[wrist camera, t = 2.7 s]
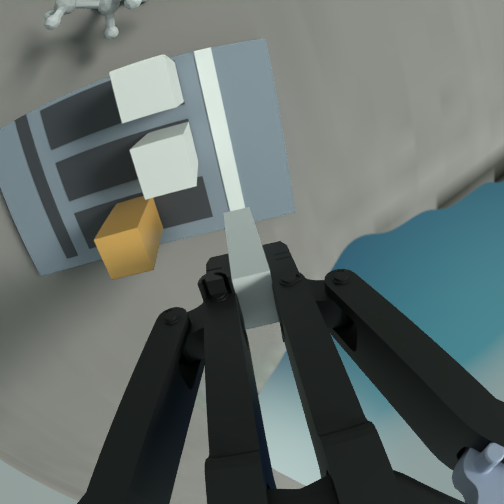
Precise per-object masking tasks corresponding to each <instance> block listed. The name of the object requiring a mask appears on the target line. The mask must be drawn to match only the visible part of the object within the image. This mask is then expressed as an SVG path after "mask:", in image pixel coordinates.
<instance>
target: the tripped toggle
mask: <svg viewBox="0 0 504 504" xmlns="http://www.w3.org/2000/svg"><path fill="white" fill-rule="evenodd" d="M162 231H163V226H162V223H161V220H160V217H159V214H158V211H157V208H156V205H155V202H154V199H153V198H150V199H146V200H145V198H144V196H141V197H137V198H134V199H130V200H127V201H124V202H120V203H117V204H116V205H115V206H114V208H113V209H112V211H111V213H110V214H109V216H108V217H107V219H106V221H105V222H104V224H103V225H102V227H101V229H100V230H99V232H98V234H97V235H96V237H95V239H94V242H95V244H96V246H97V249H98V251H99V253H100V255H101V258H102V260H103V262H104V264H105V266H106V268H107V270H108V273H109V275H110V277H111V279H112V280H113V279H117V278H121V277H126V276H130V275H134V274H138V273H142V272H147V271H151V270H154V266H155V262H156V257H157V253H158V248H159V244H160V240H161V236H162Z"/></svg>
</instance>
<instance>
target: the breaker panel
mask: <svg viewBox="0 0 504 504" xmlns="http://www.w3.org/2000/svg"><path fill="white" fill-rule="evenodd" d="M109 74H110V77H108V78H105V79H102V80H100V81H97V82H95V83H92V84H90V85H87V86H85V87H82V88H80V89H78V90H75V91H73V92H71V93H69V94H66V95H64V96H62V97H60V98H58V99H55V100H53V101H51V102H49V103H47V104H45V105H43V106H41V107H39V108H37V109H35V110H33V111H31V112H29V113H28V114H25V115H24V116H22V117H20V118H18V119H16V120H15V121H13V122H11V123H10V124H8V125H6V126H4V127H3V128H1V129H0V188H1V191H2V193H3V196H4V198H5V201H6V203H7V206H8V208H9V211H10V213H11V215H12V218H13V220H14V222H15V225H16V227H17V229H18V231H19V234H20V236H21V238H22V240H23V242H24V244H25V246H26V248H27V250H28V252H29V254H30V256H31V258H32V260H33V262H34V264H35V266H36V268H37V270H38V272H39V274H40V276H44V275H47V274H51V273H54V272H58V271H61V270H65V269H69V268H72V267H76V266H80V265H83V264H87V263H91V262H95V261H98V260H102V258H101V255H100V253H99V251H98V249H97V246H96V244H95V242H94V239H95V237H96V235H97V234H98V232H99V230H100V229H101V227H102V225H103V224H104V222H105V221H106V219H107V217H108V216H109V214H110V213H111V211H112V209H113V208H114V206H115V205H116V204H117V203H120V202H124V201H127V200H130V199H134V198H137V197H141V196H144V198H145V200H146V199H150V198H153V199H154V202H155V205H156V208H157V211H158V214H159V217H160V220H161V223H162V226H163V231H162V236H161V240H160V244H164V243H168V242H172V241H176V240H180V239H184V238H188V237H192V236H197V235H201V234H205V233H209V232H213V231H217V230H222V229H225V222H224V214H223V213H225V212H229V211H234V210H238V209H243V208H247V207H250V210H251V213H252V216H253V219H254V222H256V221H260V220H265V219H269V218H273V217H278V216H282V215H287V214H291V213H295V207H294V200H293V193H292V186H291V179H290V173H289V166H288V160H287V153H286V147H285V141H284V135H283V129H282V123H281V117H280V111H279V106H278V100H277V94H276V89H275V83H274V78H273V73H272V68H271V63H270V57H269V52H268V47H267V42H266V38H265V39H258V40H251V41H244V42H238V43H232V44H227V45H222V46H216V47H212V48H206V49H202V50H197V51H194V52H189V53H185V54H181V55H177V56H174V57H170V58H169V57H167V56H166V55H165V54H163V55H159V56H156V57H153V58H149V59H146V60H143V61H140V62H137V63H133V64H130V65H127V66H125V67H122V68H119V69H116V70H113V71H111V72H109ZM160 244H159V245H160Z"/></svg>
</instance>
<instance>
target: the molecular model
mask: <svg viewBox="0 0 504 504" xmlns="http://www.w3.org/2000/svg"><path fill="white" fill-rule="evenodd" d="M120 1H122V0H97V1H93V0H57V1H56V3H55V7H54V10H49V11H48V12H47V13H46V15H45V17H44V18H45V21H46V22H45V26H46V28H47V29H50V30H52V29H55V28H57V27H58V26H59V24H60V21H61V20H60V18H61V17H62V15H65V14H69V13H71V12H72V11H73V10H74V9H75V8H92V9H98V11H99V12H100V13H101V14H102V15H105V19H106V28H107V29H106V30H105V32H104V34H105V37H106V38H108V39H114V38H115V37H116V36H117V35H118V32H119V31H118V28H117V27H115V21H114V12H115V11H116V10H117V9H118V7H119V5H120ZM145 1H147V0H124V6H125V7H126V8H128V9H135V8H137V7H139V5H140V4H141V2H145Z"/></svg>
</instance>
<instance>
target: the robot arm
mask: <svg viewBox="0 0 504 504" xmlns="http://www.w3.org/2000/svg"><path fill="white" fill-rule="evenodd" d="M223 214H224V222H225V230H226V239H227V247H228V254H225V255H220V256H216V257H212V258H210V259H209V261H208V262H207V264H206V271H207V272H206V274H205V275H204V276H202V277H201V278H200V279H199V281H198V286H199V289H200V292H201V295H202V298H203V303H202V304H201V305H200V306H199V307H197V308H195V309H193V310H191V311H189V312H186V310H185V309H183V308H180V307H174V308H170V309H167V310H165V311H164V312H162V313H161V314H160V315H159V317H158V318H157V320H156V322H155V324H154V326H153V329H152V331H151V333H150V335H149V337H148V340H147V342H146V344H145V346H144V349H143V351H142V353H141V355H140V358H139V360H138V362H137V365H136V367H135V369H134V371H133V374H132V376H131V378H130V381H129V383H128V386H127V388H126V390H125V393H124V395H123V398H122V400H121V402H120V405H119V407H118V410H117V412H116V415H115V417H114V420H113V422H112V425H111V427H110V430H109V432H108V435H107V437H106V440H105V443H104V445H103V448H102V450H101V453H100V456H99V458H98V461H97V464H96V466H95V469H94V472H93V475H92V477H91V480H90V483H89V486H88V489H87V492H86V493H85V495H84V496H83V497H82V498H81V500H80V501H79V502H78V503H77V504H169V503H170V499H171V494H172V490H173V486H174V482H175V478H176V474H177V470H178V466H179V462H180V458H181V454H182V450H183V446H184V443H185V439H186V435H187V431H188V427H189V423H190V419H191V415H192V411H193V408H194V404H195V400H196V396H197V392H198V388H199V385H200V381H201V377H202V373H203V369H204V366H205V382H206V404H207V422H208V438H209V457H208V458H207V459H206V461H205V482H206V495H207V504H504V402H502V401H500V400H498V399H496V398H495V397H494V396H492V394H490V393H489V392H488V391H487V390H486V389H485V388H484V387H483V386H482V385H481V384H480V383H479V382H478V381H477V380H476V379H475V378H474V377H473V376H472V375H470V374H469V373H468V372H467V371H466V370H465V369H464V368H463V367H462V366H461V365H460V364H459V363H458V362H457V361H455V360H454V359H453V358H452V357H451V356H450V355H449V354H448V353H447V352H446V351H444V350H443V349H442V348H441V347H440V346H439V345H438V344H437V343H436V342H434V341H433V340H432V339H431V338H430V337H429V336H428V335H427V334H425V333H424V332H423V331H422V330H421V329H420V328H419V327H418V326H416V325H415V324H414V323H413V322H412V321H411V320H409V319H408V318H407V317H406V316H405V315H404V314H403V313H401V312H400V311H399V310H398V309H397V308H396V307H394V306H393V305H392V304H391V303H390V302H389V301H387V300H386V299H385V298H384V297H383V296H381V295H380V294H379V293H378V292H377V291H375V290H374V289H373V288H372V287H371V286H369V285H368V284H367V283H366V282H365V281H364V280H362V279H361V278H360V277H359V276H358V275H356V274H355V273H354V272H352V271H350V270H346V269H337V270H333V271H331V272H329V273H328V274H327V275H326V276H325V280H309V279H306V278H305V277H304V276H303V275H302V274H301V273H299V271H298V269H297V267H296V265H295V262H294V260H293V258H292V256H291V254H290V252H289V249H288V247H287V245H286V244H284V243H282V242H281V241H279V242H274V243H270V244H265V245H262V244H261V241H260V238H259V235H258V232H257V229H256V225H255V222H254V219H253V216H252V213H251V210H250V207H247V208H243V209H238V210H234V211H229V212H225V213H223ZM279 321H280V327H281V332H282V338H283V342H285V346H286V349H287V353H288V356H289V360H290V364H291V367H292V371H293V374H294V378H295V381H296V385H297V389H298V392H299V396H300V399H301V403H302V407H303V410H304V413H305V417H306V421H307V425H308V428H309V432H310V435H311V439H312V442H313V446H314V450H315V453H316V457H317V461H318V465H319V469H320V474H321V479H319V480H318V481H316V482H314V483H312V484H310V485H308V486H305V487H303V488H301V489H277V488H276V484H275V481H274V477H273V473H272V468H271V462H270V458H269V452H268V447H267V441H266V436H265V431H264V425H263V420H262V415H261V409H260V404H259V399H258V393H257V387H256V382H255V376H254V370H253V365H252V359H251V353H250V348H249V342H248V337H247V333H246V330H245V329H250V328H254V327H259V326H263V325H268V324H272V323H276V322H279ZM330 334H331V335H332V336H333V337H334V338H335V340H336V341H337V342H338V343H339V344H340V345H341V347H342V348H343V349H344V350H345V351H346V352H347V354H348V355H349V356H350V357H351V358H352V359H353V361H354V362H355V363H356V364H357V365H358V366H359V368H360V369H361V370H362V371H363V372H364V373H365V375H366V376H367V377H368V378H369V379H370V380H371V382H372V383H373V384H374V385H375V386H376V387H377V388H378V390H379V391H380V392H381V393H382V394H383V396H384V397H385V398H386V399H387V400H388V401H389V403H390V404H391V405H392V406H393V407H394V408H395V410H396V411H397V412H398V413H399V414H400V416H401V417H402V418H403V419H404V420H405V421H406V423H407V424H408V425H409V426H410V427H411V428H412V430H413V431H414V432H415V433H416V434H417V436H418V437H419V438H420V439H421V440H422V441H423V442H424V444H425V445H426V446H427V447H428V448H429V450H430V451H431V452H432V453H433V454H434V455H435V456H436V457H437V458H438V459H439V460H440V461H441V462H442V463H444V464H445V465H446V466H448V467H449V468H450V469H452V470H453V475H452V480H453V484H454V487H455V488H456V489H457V490H458V491H459V492H460V493H461V494H462V495H463V497H464V499H465V503H464V502H462V501H460V500H457V499H455V498H453V497H451V496H448V495H446V494H444V493H442V492H439V491H438V490H435V489H433V488H431V487H429V486H427V485H425V484H423V483H421V482H419V481H417V480H415V479H413V478H411V477H409V476H407V475H405V474H403V473H400V472H397V471H394V470H393V469H392V467H391V464H390V462H389V459H388V457H387V454H386V452H385V449H384V447H383V444H382V442H381V439H380V437H379V434H378V432H377V430H376V428H375V426H374V424H373V423H372V422H370V421H368V420H367V419H366V418H365V415H364V414H363V411H362V408H361V406H360V403H359V401H358V398H357V396H356V394H355V391H354V389H353V386H352V384H351V382H350V379H349V377H348V375H347V372H346V370H345V367H344V365H343V363H342V360H341V358H340V356H339V353H338V351H337V349H336V347H335V344H334V342H333V339H332V337H331V335H330Z"/></svg>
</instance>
